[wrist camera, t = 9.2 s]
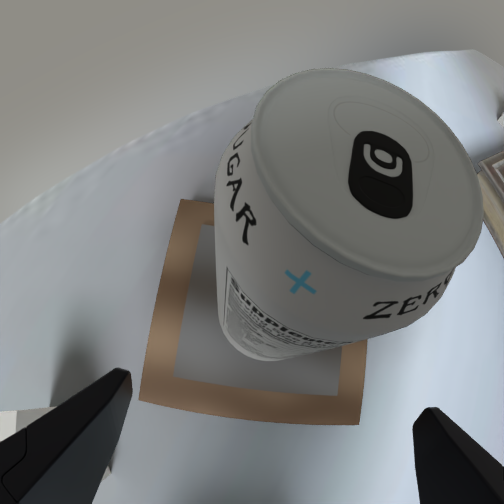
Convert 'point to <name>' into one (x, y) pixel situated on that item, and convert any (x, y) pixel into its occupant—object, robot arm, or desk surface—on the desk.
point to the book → (493, 196)
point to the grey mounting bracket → (501, 119)
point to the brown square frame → (234, 349)
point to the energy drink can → (338, 215)
